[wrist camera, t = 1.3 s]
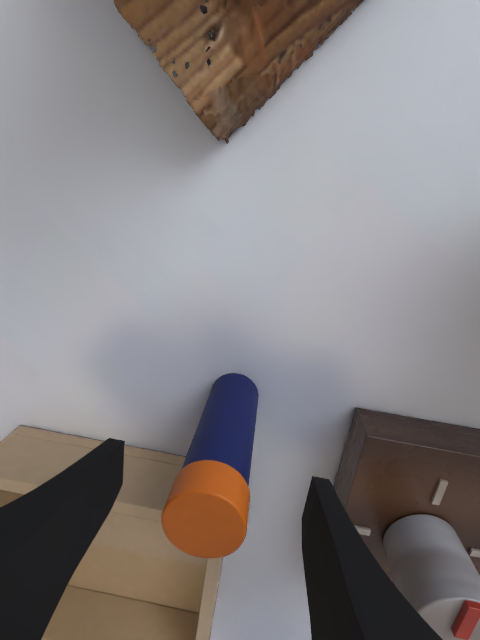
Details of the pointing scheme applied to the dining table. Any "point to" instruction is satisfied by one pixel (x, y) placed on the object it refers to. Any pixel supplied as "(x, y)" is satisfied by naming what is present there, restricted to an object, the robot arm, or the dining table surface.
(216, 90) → the bird sculpture
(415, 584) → the grey dial knob
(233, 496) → the marker
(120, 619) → the open wooden box
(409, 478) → the block
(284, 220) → the dining table surface
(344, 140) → the dining table surface
